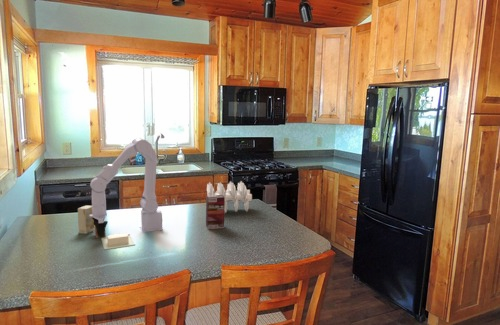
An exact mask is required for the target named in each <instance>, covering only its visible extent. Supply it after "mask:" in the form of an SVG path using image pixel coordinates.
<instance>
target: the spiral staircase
mask: <svg viewBox="0 0 500 325" xmlns="http://www.w3.org/2000/svg"><path fill="white" fill-rule="evenodd" d="M235 185H236V184H234V182H232V180H230V181H229V182H228V183H227V187H226V188H225V187H224V184H222V182H221V181H220V182H218V183H217V187H216V189H217V190H216V191H215V189H214V186H213V184H212V183H211V181H209V182H208V183H207V184H206V193H207V195H206V196H214V195H223V196H224V197H225V209H224V214H227V212H228V202H230V201H231V202H233V204H234V211H235V212H236V213H237V212H238V210H239V203H240V201H241V202H243V206H244V211H246V213H247V212H248V211H249V205H250V202H251V201H252V200H253V194H252V193H251V189H247V186H246V185H245V183H244V182H243V181H242V180H240V181H239V182H237V186H235ZM236 187H237V188H236Z"/></svg>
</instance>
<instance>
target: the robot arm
mask: <svg viewBox="0 0 500 325" xmlns="http://www.w3.org/2000/svg"><path fill="white" fill-rule="evenodd" d="M138 153H139V154H140V155H141V156H143V158H144V159H145V164H144V165H145V166H144V184H143V187H144V188H143V192H142V197H141V198H140V200H139V205H140V206H141V207H142V208H141V210H140V212H141V213H140V215H141V216H140V218H141V220H140V221H141V226H140V227H139V229H140V231H141V232H142V233H146V232H152V231H153V232H154V231H163V213H162V211H161V210H158V208H159V204H158V202H157V195H156V183H157V182H156V179H157V160H158V155H157V153H156V151H155V149H154V147H153V145H152V144H151V142H149V141H148V140H146V139H143V138H141V137H135V138H134V139H133V140H132V141H131V142H130V143H129V144H127V146H126V147H125V148H124V149H123V150H122V152H120V154H119V155H118V156H117V158H116V159H115V160H114V161H113V162H112V163H108V164H106V165H104V166H102V170H101V171H100V172H99V173H98V174H96V175H95V177H94V178H92V179H91V181H90V183H89V186H90V188H91V206H92V215H90V217H92V218H93V220H94V222H93V223H94V225H95V227H96V229H97V233H98V237H99V238H105V237H104V233H105V234H106V227H107V225H108V222H109V221H107V220H105V219H106V217H107V200H106V199H107V198H106V196H107V194H106V189H107V185H108V184H109V183H110V182H112V180H114V178H115V177H116V176H117V174H118V173H119V171H118V170H119V168H120V167H122V165H123V164H124V163H125V162H126V161H127V160H128V159H129V158H130V157H132V156H135V155H138Z"/></svg>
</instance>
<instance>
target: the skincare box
mask: <svg viewBox="0 0 500 325" xmlns="http://www.w3.org/2000/svg"><path fill="white" fill-rule="evenodd" d="M90 215H92V205H86V204H85V205H83V206H81V207H78V208H77V220H78V221H77V222H78V226H77V227H78V228H77V229H78V234H85V235H87V234H90V233H91V232H95V225H94V223H93V222H94V220H93V218H92V217H90Z"/></svg>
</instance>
